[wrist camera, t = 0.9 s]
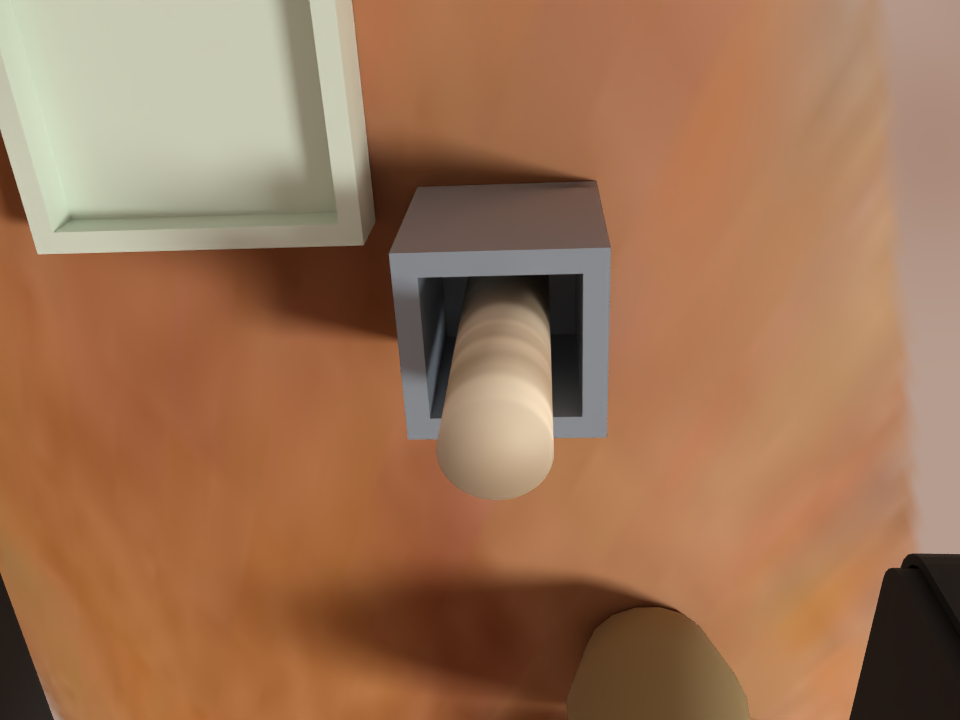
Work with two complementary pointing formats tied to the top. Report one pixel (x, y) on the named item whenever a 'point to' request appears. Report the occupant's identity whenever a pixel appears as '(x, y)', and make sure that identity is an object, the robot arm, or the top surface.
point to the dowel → (500, 389)
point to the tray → (185, 124)
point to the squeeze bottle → (654, 672)
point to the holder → (500, 252)
